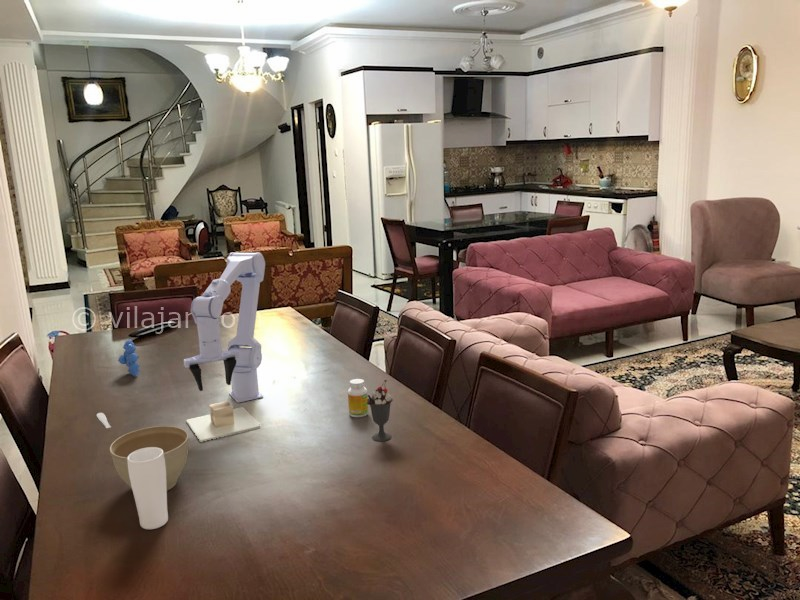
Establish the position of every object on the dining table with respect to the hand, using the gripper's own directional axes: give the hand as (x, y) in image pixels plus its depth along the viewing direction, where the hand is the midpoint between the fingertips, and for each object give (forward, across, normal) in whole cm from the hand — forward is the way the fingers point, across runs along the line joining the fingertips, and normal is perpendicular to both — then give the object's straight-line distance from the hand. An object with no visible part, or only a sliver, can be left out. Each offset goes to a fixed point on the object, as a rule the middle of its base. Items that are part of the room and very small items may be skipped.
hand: (214, 386), depth 177 cm
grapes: (+10, -15, +56) cm, 59 cm away
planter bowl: (+10, -22, -30) cm, 38 cm away
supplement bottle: (+10, +34, -20) cm, 41 cm away
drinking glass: (+10, -25, -46) cm, 53 cm away
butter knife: (+10, -27, +11) cm, 31 cm away
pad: (+9, 0, -5) cm, 11 cm away
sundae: (+10, +32, -37) cm, 50 cm away
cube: (+9, 0, -5) cm, 10 cm away
